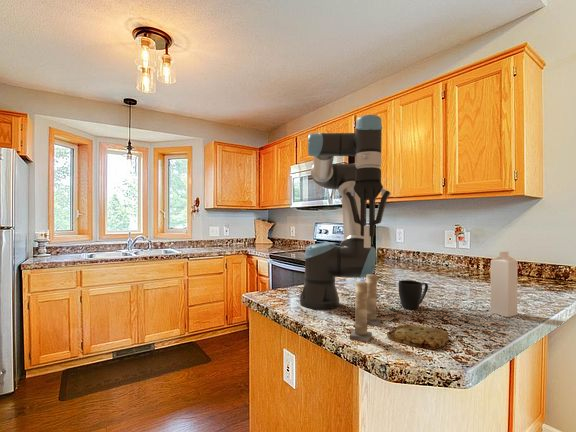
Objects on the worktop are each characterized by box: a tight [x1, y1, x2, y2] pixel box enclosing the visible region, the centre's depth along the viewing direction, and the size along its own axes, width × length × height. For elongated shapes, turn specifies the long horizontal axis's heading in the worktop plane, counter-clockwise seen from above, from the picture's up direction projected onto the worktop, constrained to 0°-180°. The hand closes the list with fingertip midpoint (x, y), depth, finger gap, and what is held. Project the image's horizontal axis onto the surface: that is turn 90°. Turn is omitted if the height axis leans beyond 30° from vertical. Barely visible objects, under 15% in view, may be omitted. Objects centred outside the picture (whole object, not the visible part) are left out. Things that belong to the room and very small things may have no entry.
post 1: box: [349, 281, 373, 343], centre depth 86 cm, size 5×5×15 cm
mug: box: [398, 279, 429, 311], centre depth 117 cm, size 8×12×10 cm
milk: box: [489, 251, 519, 318], centre depth 110 cm, size 6×6×22 cm
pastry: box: [386, 323, 450, 350], centre depth 86 cm, size 17×17×3 cm
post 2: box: [365, 273, 381, 327], centre depth 98 cm, size 5×5×15 cm
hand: (367, 247), depth 92 cm, fingers closed
